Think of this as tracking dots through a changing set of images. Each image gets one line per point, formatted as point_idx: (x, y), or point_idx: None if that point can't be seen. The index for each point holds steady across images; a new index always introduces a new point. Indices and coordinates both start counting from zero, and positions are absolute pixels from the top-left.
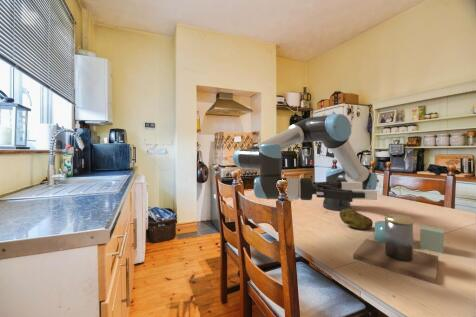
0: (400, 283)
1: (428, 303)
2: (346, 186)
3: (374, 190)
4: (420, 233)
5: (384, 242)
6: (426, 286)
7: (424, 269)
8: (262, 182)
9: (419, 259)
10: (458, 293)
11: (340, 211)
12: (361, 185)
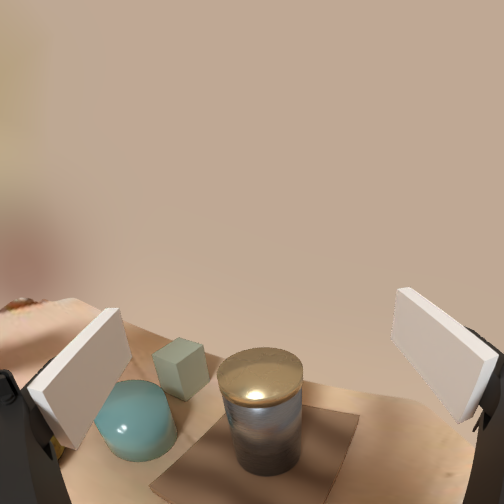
0: (391, 469)
1: (434, 435)
2: (78, 401)
3: (415, 291)
4: (178, 373)
5: (161, 452)
6: (376, 435)
7: (326, 424)
8: None
9: None
10: (372, 403)
11: None
12: (122, 330)
